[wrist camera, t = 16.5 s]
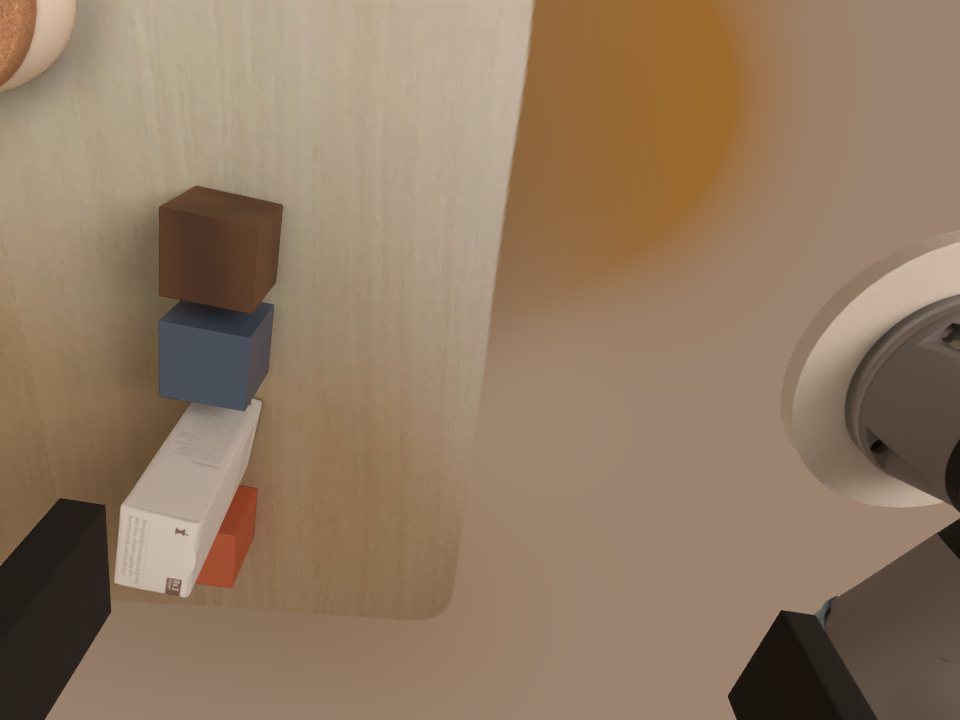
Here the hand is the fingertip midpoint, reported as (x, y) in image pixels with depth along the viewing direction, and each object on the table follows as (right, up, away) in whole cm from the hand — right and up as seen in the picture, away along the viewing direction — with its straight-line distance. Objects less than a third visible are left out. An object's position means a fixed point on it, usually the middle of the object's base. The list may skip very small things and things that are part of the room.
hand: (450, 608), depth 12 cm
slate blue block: (-15, +7, +28) cm, 33 cm away
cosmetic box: (-17, 0, +32) cm, 36 cm away
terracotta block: (-19, -6, +35) cm, 40 cm away
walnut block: (-14, +12, +26) cm, 32 cm away
